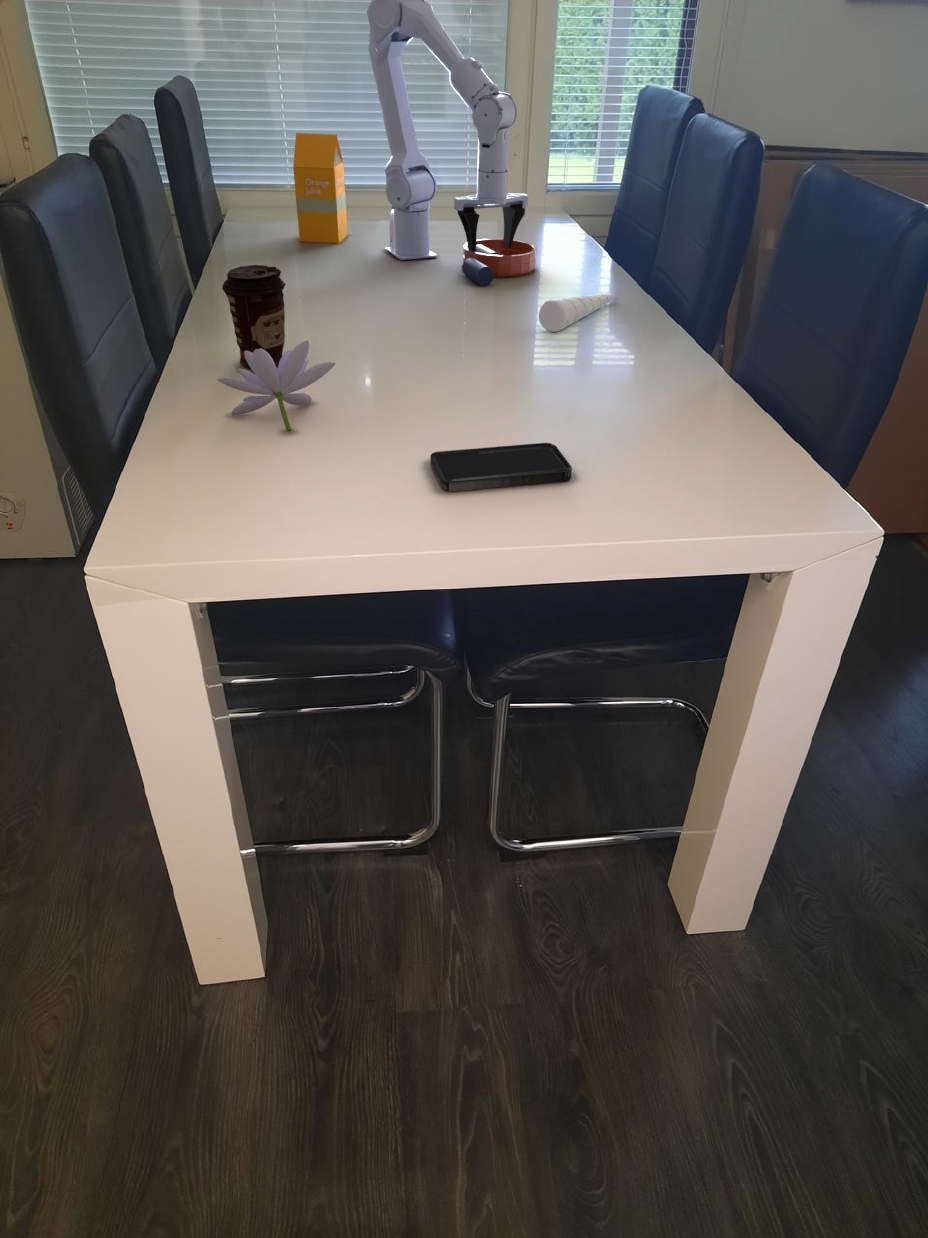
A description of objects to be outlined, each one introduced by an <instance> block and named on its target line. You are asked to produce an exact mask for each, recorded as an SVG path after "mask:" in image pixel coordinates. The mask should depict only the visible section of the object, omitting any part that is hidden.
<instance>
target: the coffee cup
mask: <svg viewBox="0 0 928 1238" xmlns="http://www.w3.org/2000/svg"><path fill="white" fill-rule="evenodd" d="M281 274H282V271H281V270H280V269H279V268H277V267H276V266H268V265H264V264H249V265H241V266H237V267H234V268H232V269H230V270H229V271H228V272H227V273H226V280H224V282H223V284H222V286H221V287H222V288H221V289H222V291H223V292H224V294H225V295H226V297H227V300H228V305H229V312H230V314H231V319H232V323H233V327H234V328H233V330H234V334H235V337H236V345H237V346H238V349H239V356H240V358H239V364H240V366H241V368H242V369H245V370H248V371H250V372H253V370H252V369H251V368H250V366H249V364H248V362H247V360H246V358H245V355H244V351H245V350H246V351H250V352H252V353H253V352H254V350H255V349H260V348H261V349H263V350H265V351H266V352H267V353H268V354H269V355H270V356H271V357H272V359H273V361H274V363H275V366H276V368H278V366H279V362H280V360H281V358H282V356H283V354H284V345H285V341H286V340H285V339H286V333H285V331H286V330H285V329H286V328H285V327H286V326H285V323H286V322H285V321H286V310H285V301H284V292H283V290H284V289H285V287H286V285H287V284H286V283H285V281H284V280H283V279H282V278H281Z"/></svg>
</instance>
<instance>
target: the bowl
mask: <svg viewBox="0 0 928 1238" xmlns="http://www.w3.org/2000/svg"><path fill="white" fill-rule="evenodd" d="M478 244H482V245H484V246H486V247H488V248H489V249H491V250H493V251H495V252H497V253H499V254H500V255H488V254H482V253H477V252H474V251H471V250H469V249H468V244H467V242H465V244H464V245H462V246H463V248H462V249H463V251H462V253H463V255H462V264H463V263H464V261H465V260H466V259H468V258H474V259H476V260H478V261H479V262H481V263H483V264H484V265H486V266H488V267H490V268H491V269H492V270H493V273H494V277H493V278H513V277H520V276H521V277H522V276H524V275H528V274H530V273H531V272H532V271H534V270H535V269H536V266H537V255H538V254H537V253H538V248H537V246H536V245H535V244H533V243H531V242H527V241H524V240H518V239H513V242H512V246H511V248H507V247H505V246H504V242H503V238H481V239H476V245H478Z"/></svg>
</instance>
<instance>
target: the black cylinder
mask: <svg viewBox="0 0 928 1238" xmlns="http://www.w3.org/2000/svg"><path fill="white" fill-rule="evenodd" d="M474 252H477V253H482V254H488V255H500V254H499V253H497V252H495V251H493V250H491V249H489V248H488V247H486V246H484V245H482V244H478V245H476V251H474Z"/></svg>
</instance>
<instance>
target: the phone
mask: <svg viewBox="0 0 928 1238" xmlns="http://www.w3.org/2000/svg"><path fill="white" fill-rule="evenodd" d="M429 458H430V459H429V461H430V467H431V470H432V473H433V474H434V476H435V478H436V481H437V483H438V485H439V487H440V489H441V490H443V491H445V492H461V491H470V490H471V491H472V490H481V489H482V490H483V489H493V488H504V487H515V486H527V485H537V484H538V485H539V484H547V483H559V482H567V481H569V480H570V479H572V471H573V467H572V465H571V464H570V463H569V462H568V460H567V459H566V457H565V456H564V454H563V453H562V452H561V451H560V449H559V448H558V446H557V445H555V444H554V443H550V442H537V443H526V444H514V445H513V444H512V445H501V446H489V447H478V448H477V447H475V448H466V449H465V448H464V449H452V450H440V451H434V452H432V453H431V454H430V457H429Z"/></svg>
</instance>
